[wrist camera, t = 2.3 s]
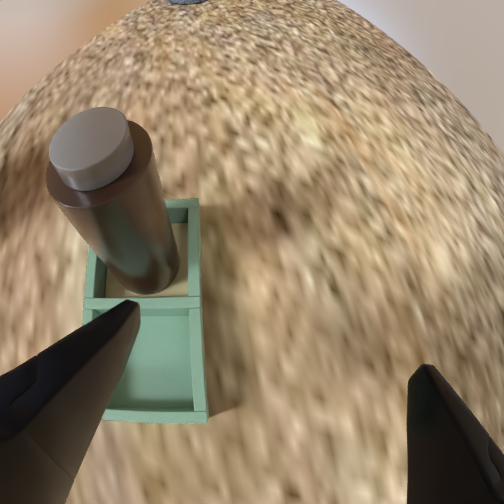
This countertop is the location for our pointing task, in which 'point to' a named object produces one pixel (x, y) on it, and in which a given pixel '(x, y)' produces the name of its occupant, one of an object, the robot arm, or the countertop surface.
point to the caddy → (160, 333)
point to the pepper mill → (114, 197)
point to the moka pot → (186, 1)
